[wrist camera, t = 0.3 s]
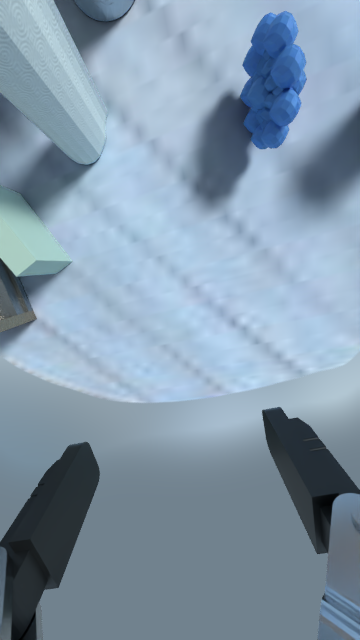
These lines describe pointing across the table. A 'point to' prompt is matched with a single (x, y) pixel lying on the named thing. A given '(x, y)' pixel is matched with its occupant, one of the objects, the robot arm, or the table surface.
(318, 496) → the robot arm
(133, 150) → the table surface
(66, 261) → the pale green rectangular block
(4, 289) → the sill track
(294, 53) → the grapes
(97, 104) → the paper towel roll
